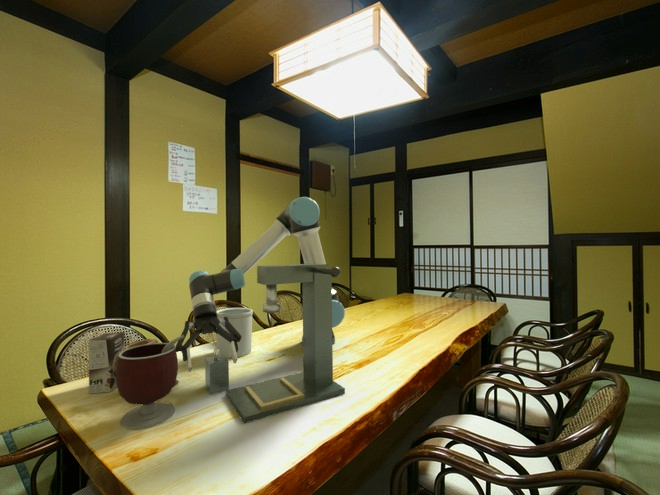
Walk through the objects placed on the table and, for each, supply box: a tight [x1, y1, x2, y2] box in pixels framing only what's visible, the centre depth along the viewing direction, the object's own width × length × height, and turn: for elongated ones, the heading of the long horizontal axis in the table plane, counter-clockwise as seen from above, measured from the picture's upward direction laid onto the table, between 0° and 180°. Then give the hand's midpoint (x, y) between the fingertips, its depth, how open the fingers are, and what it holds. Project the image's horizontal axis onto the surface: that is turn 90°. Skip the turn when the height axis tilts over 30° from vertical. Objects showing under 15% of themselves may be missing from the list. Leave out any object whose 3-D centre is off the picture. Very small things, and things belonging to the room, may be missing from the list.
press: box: [225, 263, 346, 424], centre depth 91 cm, size 30×26×38 cm
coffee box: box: [88, 331, 125, 394], centre depth 101 cm, size 9×6×16 cm
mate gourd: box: [116, 335, 184, 431], centre depth 83 cm, size 16×14×20 cm
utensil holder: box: [215, 307, 254, 359], centre depth 133 cm, size 15×15×18 cm
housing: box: [204, 347, 230, 395], centre depth 100 cm, size 6×7×12 cm
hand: (213, 365), depth 100 cm, fingers open, 13 cm apart
